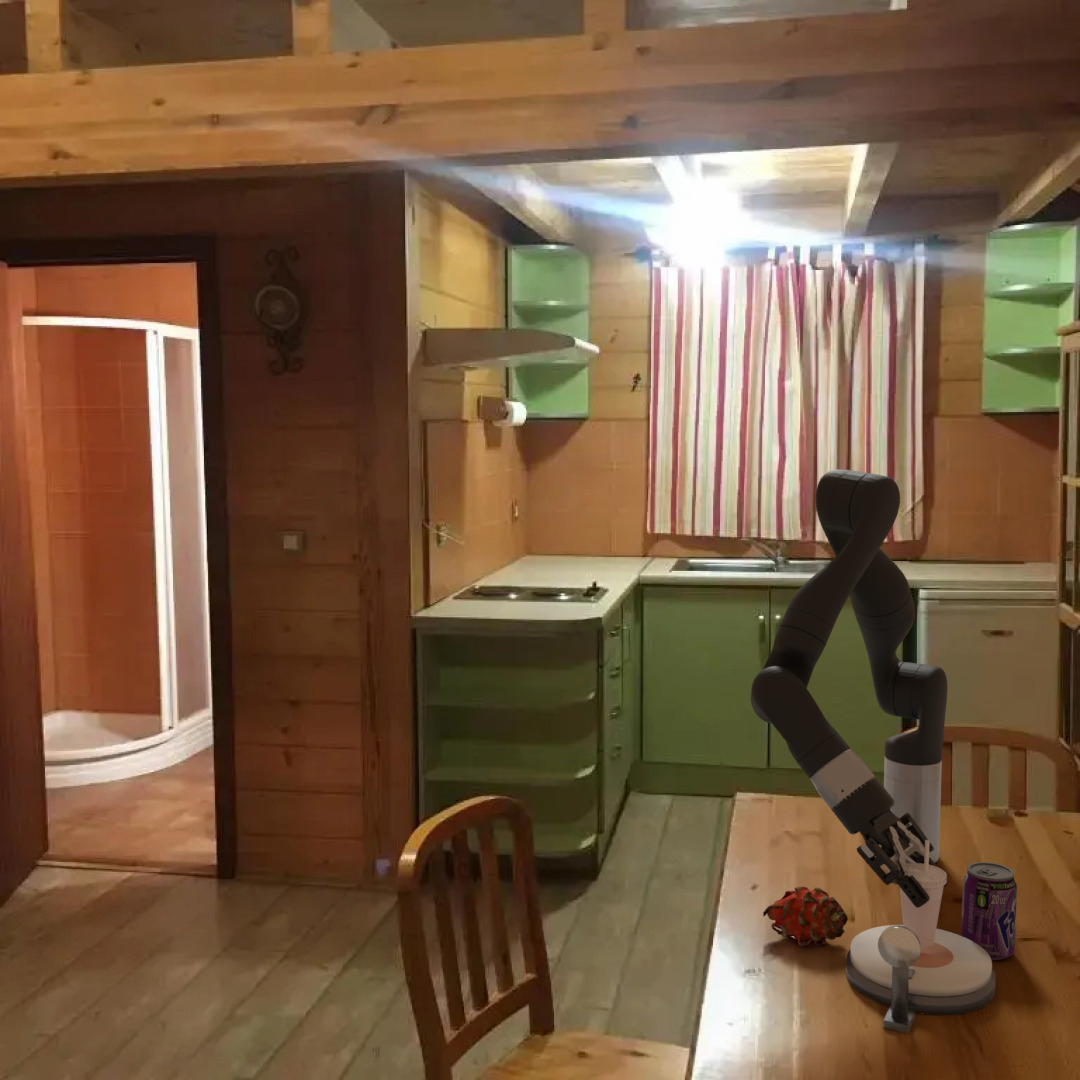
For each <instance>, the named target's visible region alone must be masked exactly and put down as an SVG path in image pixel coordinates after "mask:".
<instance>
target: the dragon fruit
mask: <svg viewBox="0 0 1080 1080" xmlns="http://www.w3.org/2000/svg"><path fill="white" fill-rule="evenodd" d="M766 915H767V916H768V919H769V920H771V921H775V922H773V923H771V924H770V927H771V928H772V929H771V930H773V931H774V932H775V933H777V935H779V936H783V937H784V936H789V937H790V936H794V937H795V938H796V939H795V940H797V944H798V946H799V947H801V946H802V947H804V946H809V945H810V943H811V942H813V943H814V944H815V946H821V945H825V944H827V943H826V942H827V940H830V941H833V940H836V939H837V938H841V937H842V936H843V935H844V934H845V932H846V931H845V930H844V927H845V926H846V924H847V922H848V921H849V918H848V916H847V913H845V910H844V909H843V908H842V905H841V904H840V903H839V901H837V899H836V898H835V897H833V896H829V893H827V892H826V891H825V890H823V889H822V888H821V887H814V889H812V890H811V889H809V888H808V887H806V886H797V887H794V890H786V891H785V892H784V895H783V896H782V897H781V898H780V899H777V900H776V901H774V903H772V904H770V905H768V906H767V907H766V908H765V909H764V911H763V912H762V916H763V918H765V917H766ZM777 928H778V929H777ZM779 929H780V930H779Z"/></svg>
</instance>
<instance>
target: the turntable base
mask: <svg viewBox="0 0 1080 1080" xmlns="http://www.w3.org/2000/svg"><path fill="white" fill-rule="evenodd" d="M850 951H851V948H849V950H848V951H847V954H846V960H845V961H846V963H845V964H846V965H845V968H846V969H845V974H846V977H847V980H848V982H849V984H850V985H851V987H853V988H854V989H855V991H857V992H859V993H860V994H861V993H862V996H864V995H865V997H866V996H867V997H866V998H868V999H869V998H870V1000H872V1001H874V1002H876V1003H878V1004H880V1003H881V1004H880V1005H883V1006H886V1007H889V1008H890V1006H891V997H892V989H890V988H887V987H885V986H882V985H879V984H877V983H875V982H873V981H871V980H869V979H868V978H866V977H865V976H863V975H862V974H860V973H859V972H858V971H857V970H856V969H855V967H854V966H853V964H852V962H851V959H850ZM995 994H996V971H995V969H994V968H993V967H992V975H991V979H990V981H989V983H988V984H987V985H986V986H984V987H983V988H981V989H979V990H977V991H975V992H972V993H968V994H964V995H957V996H945V997H942V996H923V995H915V994H910V993H908V1010H911V1011H915V1014H920V1013H923V1014H922V1015H929V1014H930V1015H931V1016H932V1015H933V1016H950V1015H951V1016H952V1015H962V1014H965V1013H971V1012H974V1011H977V1010H980V1009H982V1008H984V1007H985V1006H987V1005H988V1004H990V1002H991V1001H992V1000H993V998H995Z"/></svg>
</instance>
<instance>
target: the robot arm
mask: <svg viewBox="0 0 1080 1080" xmlns="http://www.w3.org/2000/svg"><path fill="white" fill-rule="evenodd" d="M815 491H816V492H815V510H816V515H817V517H818V521H819V523H820V526H821V529H822V530H823V533H824V536H825V537H826V539H827V541H828V543H829V546H830V548H831V549H832V552H833V554H834V556H835V557H834V558H833V559H832V560H831V561H829V563H827V564H826V565H825V566H823V568H821V569H820V570H819V571H818V572H816V573H815V574H814V575H813V576H812V577H811V578H809V579H807V581H806V582H804V584H803V585H801V586H800V587H799V588H798V590H797V591H796V592H795V594H794V595H793V597H792V598H791V600H790V602H789V604H788V606H787V608H786V611H785V613H784V615H783V617H782V619H781V621H780V624H779V626H778V629H777V630H776V634H775V637H774V640H773V645H772V649H771V652H770V654H769V656H768V658H767V660H766V662H765V664H764V666H763V668H762V670H761V671H759V672H758V673H757V674H756V676H754V679H753V681H752V683H751V690H750V692H751V693H750V705H751V707H752V709H753V712H754V714H755V715H756V716H757V717H758V718H760V720H762V721H763V722H766V723H768V724H772V725H773V727H774V728H775V730H776V731H777V732H778V733H779V735H780V736H781V737H782V738H783V739H784V741H785V742H786V745H787V748H788V751H789V753H790V754H791V756H792V758H793V759H794V761H795V762H796V763H797V764H798V766H799V767H800V768H801V769H802V771H803V772H804V774H806V776H807V777H808V779H810V781H811V783H812V784H813V786H814V787H815V790H816V791H817V793H818V795H819V796H820V797H821V798H822V800H823V801H824V803H825V804H826V805H827V806H828V808H829V809H830V810H831V812H832V813H833V814H834V815H835V816H836V818H837V819H838V821H840V823H841V824H842V826H843V827H844V828H845V829H846V831H847V833H849V834H850V835H853V836H854V835H856V834H858V833H860V835H861V837H862V838H863V841H864V842H863V843H862V844H860V845H859V846H858V847H857V848H856V851H857V853H858V855H859V856H860V857H861V858H862V859H863V860H864V861H865V863H866V864H867V865H868V867H870V868H871V870H872V871H873V872H874V873H875V875H877V877H878V878H879V879H880V880H881V882H883V884H884V885H886V886H889V885H890V884H893V885H894V886H899V889H900V888H901V889H902V890H903V892H904V893H905V894H906V895H907V897H908V898H909V899H910V901H911V902H912V903H913V904H914V906H915V907H917V908H919V907H921V906H922V905H924V904H925V903H927V902H928V901H929V900H930V897H929V895H928V894H927V893H926V892H925V890H924V889H923V888H922V886H921V885H920V884H919V883H918V881H917V880H916V879H915V877H914V876H913V875H911V874H910V871H909V869H908V867H907V865H906V864H909V863H922V864H924V857H925V840H929V865H933V866H936V867H938V866H937V864H936V863H937V862H938V861H939V857H940V856H939V855H940V854H939V853H940V851H939V850H940V833H941V832H940V831H941V830H940V829H941V799H942V798H941V797H942V767H943V766H942V765H943V748H944V747H943V746H944V739H945V724H946V723H945V721H946V712H947V701H948V680H947V679H948V678H947V674H946V672H945V670H944V669H943V668H942V667H940V666H937V665H932V664H923V663H915V662H907V661H906V662H905V661H902V660H900V659H899V657H898V656H897V650H898V647H899V646H900V645H901V643H902V642H903V641H904V639H905V638H906V636H907V635H908V634H909V633H910V631H911V628H912V627H913V624H914V622H915V619H916V606H915V601H914V599H913V596H912V595H913V594H912V590H911V588H910V585H909V582H908V579H907V577H906V575H905V574H904V572H903V571H902V569H900V567H899V566H898V565H897V564H896V563H895V562H894V561H893V560H892V559H891V557H889V556H888V555H887V554H886V552H884V551H883V549H882V548H881V547H882V545H883V544H884V542H885V540H886V539H887V537H888V536H889V534H890V531H891V530H892V528H893V526H894V524H895V522H896V519H897V517H898V515H899V514H898V513H899V510H900V505H901V493H900V489H899V486H898V484H897V482H896V480H895V479H893V478H891V477H889V476H886V475H882V474H877V473H870V472H865V471H858V470H851V469H831V470H828V471H827V472H826V473H824V474H823V476H821V478H820V479H819V481H818V483H817V487H816V490H815ZM848 598H849V600H850V604H851V606H852V610H853V613H854V616H855V619H856V621H857V622H856V623H857V624H858V627H859V630H860V633H861V636H862V638H863V643H864V646H865V649H866V653H867V657H868V661H869V666H870V673H871V677H872V683H873V687H874V688H873V689H874V693H875V697H876V700H877V704H878V705H879V708H880V709H881V711H883V713H885V714H888V715H890V716H893V717H894V716H895V717H901V718H906V719H914V720H917V721H919V722H918V727H917V729H916V730H913V731H909V732H906V733H905V732H904V733H898V734H895V735H892V736H890V737H888V738H887V739H886V741H885V743H884V760H883V762H884V768H883V772H884V773H883V784H882V783H881V782H880V781H879V779H878V778H877V776H876V775H874V773H873V772H872V770H871V769H870V768H869V767H868V766H867V764H866V763H865V762H864V760H862V759H861V758H860V757H859V756H858V755H857V754H856V753H855V752H854V751H853V749H851V747H850V745H848V743H847V742H846V741H845V740H844V738H843V737H842V736H841V734H840V733H839V732H838V731H837V730H836V729H835V727H833V726H832V724H831V723H830V722H829V721H828V719H827V718H826V716H825V715H824V714H823V712H822V710H821V708H820V707H819V705H818V703H817V702H816V700H815V698H813V695H812V694H811V693H810V691H809V690H808V686H809V683H810V680H811V678H812V674H813V673H814V669H815V666H816V664H817V662H818V661H819V660H820V657H821V655H822V653H823V652H824V650H825V647H826V646H827V644H828V642H829V641H828V640H829V639H830V636H831V634H832V633H833V629H834V627H835V625H836V622H837V621H838V618H839V616H840V613H841V611H842V609H843V607H844V605H845V604H846V603H847V601H848ZM898 867H899V868H900V869H899V868H898ZM884 870H885V871H886V872H887V873H886V872H885V871H884ZM910 875H911V876H910ZM909 876H910V877H909ZM946 880H947V883H946V884H945V885H944V887H943V888H945V887H946V886H947V885H949V880H948V878H947V879H946Z"/></svg>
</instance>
